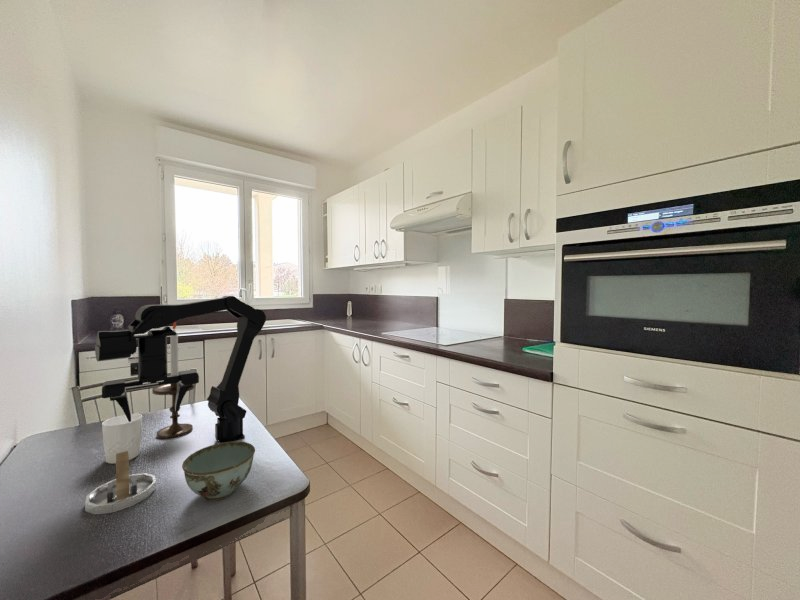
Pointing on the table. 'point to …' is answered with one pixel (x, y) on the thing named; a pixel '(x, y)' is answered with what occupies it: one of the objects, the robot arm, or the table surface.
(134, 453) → the white cup
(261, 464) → the table surface
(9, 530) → the table surface
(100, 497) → the tin
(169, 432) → the candlestick
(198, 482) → the bowl
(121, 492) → the wooden plank
